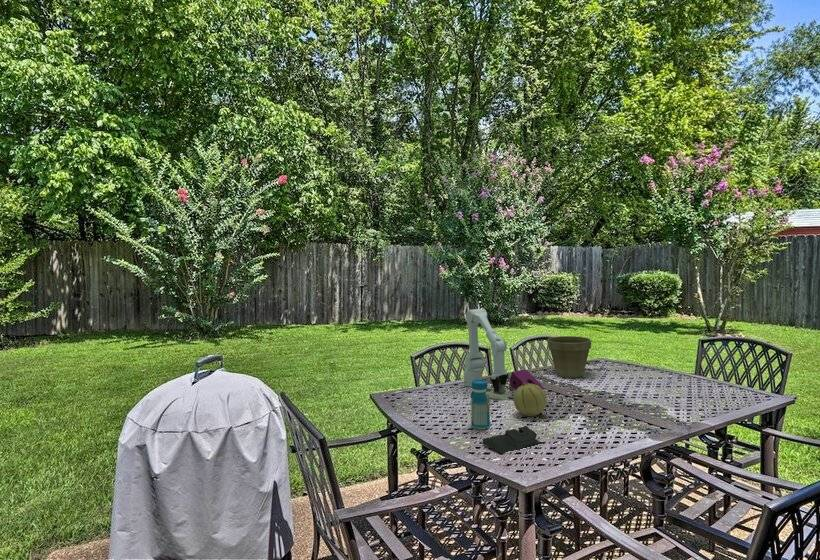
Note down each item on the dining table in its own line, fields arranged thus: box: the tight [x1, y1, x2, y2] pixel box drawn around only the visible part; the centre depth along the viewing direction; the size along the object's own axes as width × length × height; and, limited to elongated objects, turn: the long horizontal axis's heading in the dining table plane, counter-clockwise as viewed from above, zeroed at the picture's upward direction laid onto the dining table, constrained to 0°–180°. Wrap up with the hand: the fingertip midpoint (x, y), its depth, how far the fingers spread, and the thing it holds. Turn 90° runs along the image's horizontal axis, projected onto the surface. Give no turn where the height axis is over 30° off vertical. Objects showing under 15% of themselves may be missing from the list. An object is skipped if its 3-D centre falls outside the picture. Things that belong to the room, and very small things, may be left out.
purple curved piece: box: [509, 368, 544, 391], centre depth 266 cm, size 10×8×18 cm
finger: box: [494, 384, 506, 394], centre depth 255 cm, size 5×4×5 cm
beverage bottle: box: [469, 378, 491, 430], centre depth 213 cm, size 8×8×20 cm
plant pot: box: [546, 335, 592, 379], centre depth 292 cm, size 25×25×22 cm
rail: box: [470, 386, 511, 401], centre depth 258 cm, size 18×9×6 cm, turn 55°
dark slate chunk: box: [482, 425, 542, 454], centre depth 195 cm, size 15×22×5 cm
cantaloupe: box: [513, 383, 548, 417], centre depth 225 cm, size 15×15×15 cm
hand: (499, 389), depth 255 cm, fingers open, 7 cm apart
